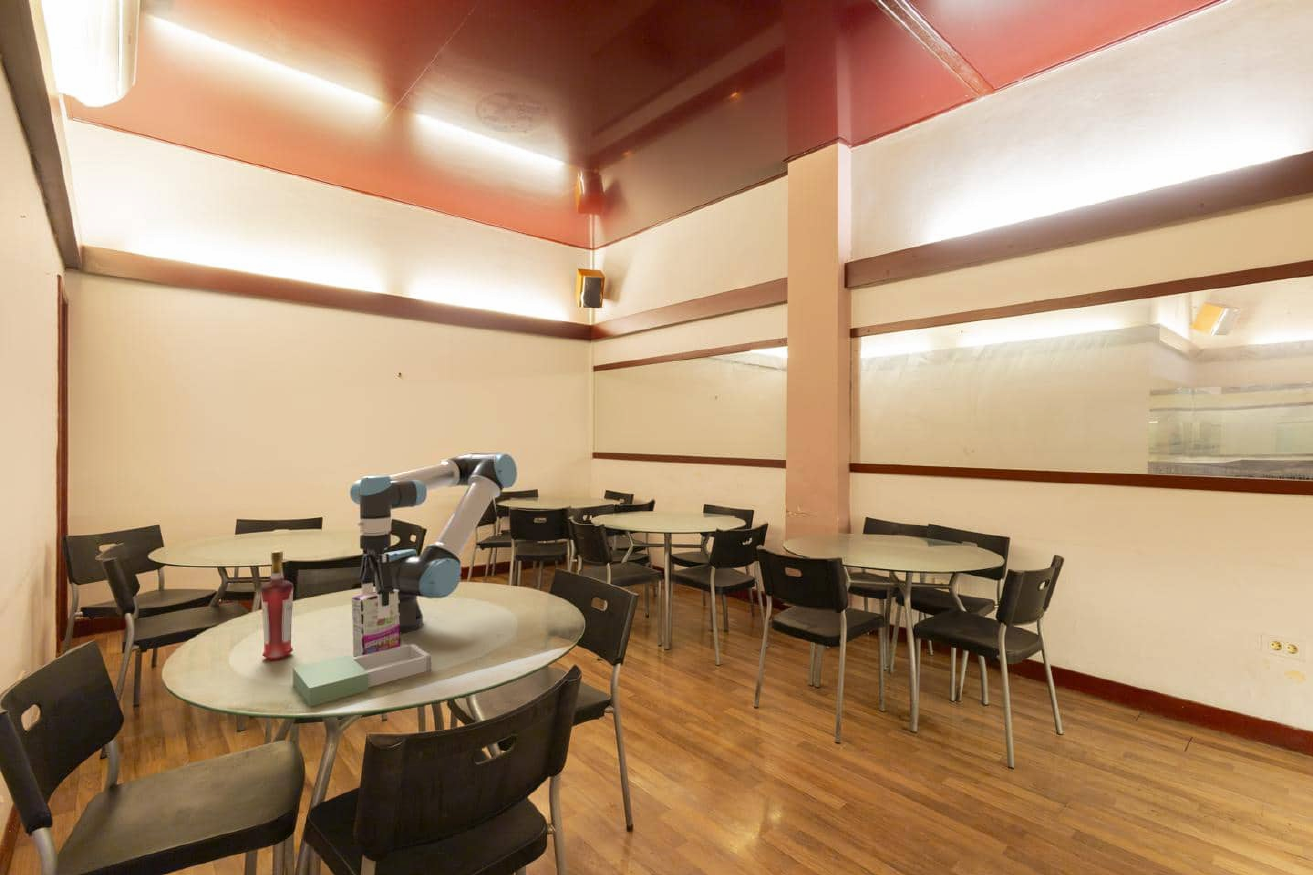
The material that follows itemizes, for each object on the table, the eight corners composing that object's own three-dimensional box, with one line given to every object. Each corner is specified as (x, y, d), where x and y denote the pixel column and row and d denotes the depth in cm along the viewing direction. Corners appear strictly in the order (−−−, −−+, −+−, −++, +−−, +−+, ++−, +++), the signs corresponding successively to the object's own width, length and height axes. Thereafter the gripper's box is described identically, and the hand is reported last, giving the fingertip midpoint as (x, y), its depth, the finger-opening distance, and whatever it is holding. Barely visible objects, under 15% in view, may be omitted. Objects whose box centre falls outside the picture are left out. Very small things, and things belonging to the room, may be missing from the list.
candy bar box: (390, 645, 165) (389, 587, 165) (401, 649, 163) (400, 589, 163) (351, 658, 156) (350, 596, 156) (362, 662, 153) (362, 599, 153)
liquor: (264, 654, 159) (263, 550, 159) (296, 650, 162) (295, 548, 162) (258, 663, 153) (257, 555, 153) (291, 659, 156) (290, 553, 156)
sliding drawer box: (293, 684, 140) (292, 667, 140) (410, 654, 158) (409, 639, 158) (309, 706, 128) (309, 688, 128) (434, 672, 147) (433, 655, 147)
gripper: (346, 529, 166) (346, 605, 166) (376, 540, 147) (376, 625, 147) (375, 527, 171) (375, 600, 171) (406, 537, 152) (406, 619, 152)
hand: (375, 612), depth 159 cm, fingers open, 13 cm apart
